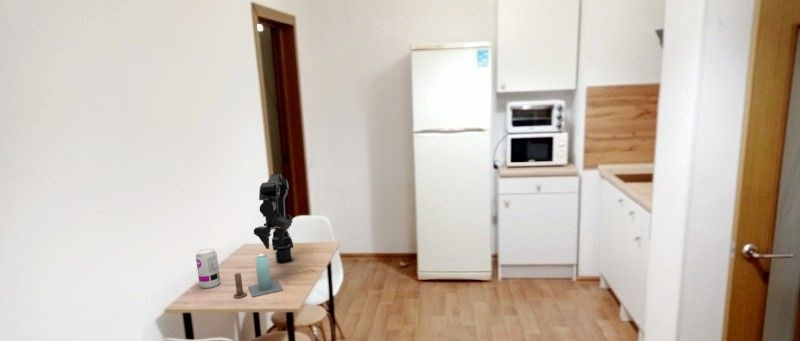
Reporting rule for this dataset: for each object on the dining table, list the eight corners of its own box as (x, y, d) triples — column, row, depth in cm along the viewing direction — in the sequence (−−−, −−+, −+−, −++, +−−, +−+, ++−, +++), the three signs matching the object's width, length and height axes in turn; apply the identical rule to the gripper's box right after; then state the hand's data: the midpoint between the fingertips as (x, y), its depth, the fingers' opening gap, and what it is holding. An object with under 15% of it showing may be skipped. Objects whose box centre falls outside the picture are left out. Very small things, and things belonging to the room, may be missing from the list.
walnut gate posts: (263, 278, 199) (261, 258, 198) (273, 278, 198) (270, 258, 197) (230, 298, 180) (228, 276, 179) (241, 299, 178) (238, 277, 177)
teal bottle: (269, 284, 190) (265, 251, 188) (273, 287, 186) (269, 254, 184) (257, 287, 188) (253, 254, 185) (261, 291, 183) (257, 257, 181)
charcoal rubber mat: (277, 280, 195) (277, 280, 195) (283, 290, 184) (283, 289, 184) (248, 287, 190) (248, 286, 190) (252, 297, 179) (252, 296, 179)
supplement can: (200, 290, 190) (195, 255, 188) (199, 284, 198) (194, 250, 195) (221, 285, 194) (217, 251, 192) (219, 279, 201) (214, 247, 199)
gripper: (272, 215, 188) (276, 253, 190) (299, 207, 205) (302, 241, 207) (251, 215, 193) (254, 251, 194) (279, 207, 210) (282, 240, 211)
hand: (274, 246), depth 201 cm, fingers open, 9 cm apart
